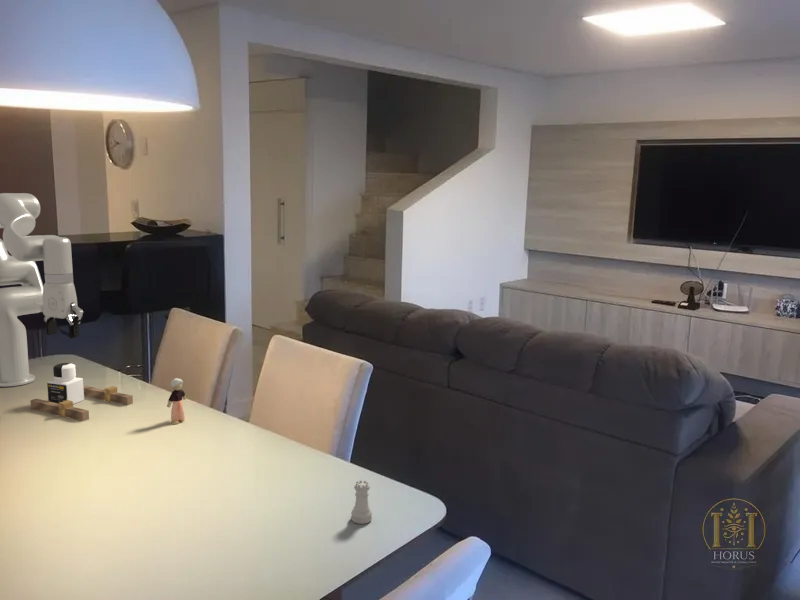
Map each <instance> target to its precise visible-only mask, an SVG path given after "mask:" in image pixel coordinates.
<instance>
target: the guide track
mask: <svg viewBox="0 0 800 600" xmlns="http://www.w3.org/2000/svg"><path fill="white" fill-rule="evenodd" d="M83 389H84V397H89V398H92V399H93V398H94V399H97V400H101V401H105V402H108V403H111V402H112V403H115V404H119V405H120V404H121V405H124V406H129V405H132V404H133V403H134V400H133V397H134V396H133V395H131V394H127V393H122V392H118V387H117V386H115V385H114V386H113V385H111V386H109V387H106V388H97V387H94V386H88V385H85V384H83ZM30 409H32V410H35V411H40V412H43V413H44V412H45V413H49V414H52V415H57V416H59V417H61V418H69V419H73V420H76V421H77V420H78V421H81V422H85V421H87V420H89V419H90V414H89V413H90V411H89V410H88V409H83V408H79V407H74V404H73V401H70V400H66V401H63V402H60V403H59V404H58V403H54V402H49V401H48V400H44V399H40V398H33V399H31V400H30Z"/></svg>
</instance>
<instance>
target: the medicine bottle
mask: <svg viewBox="0 0 800 600" xmlns="http://www.w3.org/2000/svg"><path fill="white" fill-rule="evenodd" d="M52 369H53V370H52V371H53V379H52V380H49V381H47V384H46V385H47V398H48V400H47V401H49V402H54V403H58V404H59V403H60V402H63V401H66V400H70V401H73V405H75V404H78V403H81V402H82V401H85V396H84V389H83V385H84V379H83V378H82V377H77V373H76V371H77V370H76V364H74V363H72V362H62V363H61V362H60V363H57V364H55V365H54V366H53V368H52Z"/></svg>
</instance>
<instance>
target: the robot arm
mask: <svg viewBox="0 0 800 600" xmlns="http://www.w3.org/2000/svg"><path fill="white" fill-rule="evenodd" d="M40 214H41V204H40V201H39V200H38V198H37V197H36V196H35V195H33V194H32V193H26V192H21V193H20V192H18V193H17V192H16V193H15V192H14V193H13V192H10V193H9V192H3V193H0V229H3V232H2V238H1V237H0V286H8V287H1V288H0V387H3V388H4V387H5V388H6V387H7V388H8V387H17V386H23V385H26V384H30V383H32V382H34V381H35V379H36V376H35V375H34V374H32V373H30V367H29V366H30V365H29V355H28V354H29V353H28V339H27V338H28V337H27V329H26V326H25V325H24V324H23V322H22V321H21V320H20V319H18V317H20V316H23V315H24V316H25V315H30V314H39V313H41V315H42V318H43V321H44V322H45V333H46V336H47V335H48V336H50V335H54V334H57V333H58V327H57V325H58V324H57V320H55V319H61V320H62V319H66V321H67V322H68V323H69V325H67V326H68V327H67V328H68V339H74V338H78V337H80V324H81V320H83V314H84V311H83V309H82V308H80V307H79V306H78V297H77V292H76V287H75V284H74V272H73V258H72V254H73V253H72V243H71V240H70V239H69V238H68V237H64V236H63V237H61V236H58V235H55V234H45V235H40V234H39V235H29V234H31V233H32V232H33V231H34V229H35V227H36V219H37V218H38V217H40ZM39 261H43V271H44V272H43V273H44V282H45V283H43V280H42V277H41V273H40V271H39V267H38V265H37V263H36V262H39ZM10 285H11V286H10ZM12 285H21V286H12ZM9 286H10V287H9Z"/></svg>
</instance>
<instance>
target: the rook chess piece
mask: <svg viewBox="0 0 800 600" xmlns="http://www.w3.org/2000/svg"><path fill="white" fill-rule="evenodd" d="M353 488H354V490H355V493H354V495H355V503H354V506H353V509H352V510H351V513H350V515H351V516H350V519H351V521H352V522H353V523H355V524H358V525H365V524H368V523H370V522H371V521H372V520H373V511H372V509H371V507H370V506H369V496H370V494H369V490H370V488H371V486H370V485H369V482H368V481H367V480H362V479H360V480H359V481H356V482H355V485H354V487H353Z"/></svg>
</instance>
